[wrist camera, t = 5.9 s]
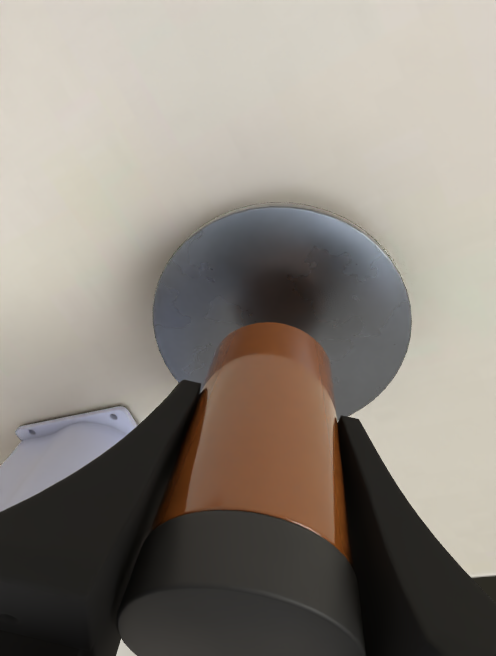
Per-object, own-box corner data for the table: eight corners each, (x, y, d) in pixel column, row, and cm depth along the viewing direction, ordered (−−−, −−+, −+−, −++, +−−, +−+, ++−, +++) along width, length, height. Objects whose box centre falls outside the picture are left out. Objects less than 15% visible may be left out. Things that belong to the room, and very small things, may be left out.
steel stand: (218, 409, 24) (208, 444, 22) (132, 236, 19) (106, 255, 16) (412, 373, 21) (427, 410, 18) (373, 152, 16) (388, 160, 13)
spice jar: (235, 426, 17) (177, 697, 9) (191, 336, 15) (67, 591, 7) (345, 408, 15) (387, 707, 8) (315, 306, 13) (332, 580, 6)
